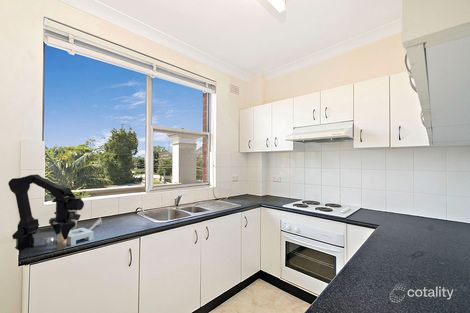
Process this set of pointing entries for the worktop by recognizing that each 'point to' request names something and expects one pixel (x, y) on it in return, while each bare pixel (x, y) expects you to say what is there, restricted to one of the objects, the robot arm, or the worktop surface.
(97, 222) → the caliper
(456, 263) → the worktop surface
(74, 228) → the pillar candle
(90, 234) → the bridge jig
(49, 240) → the aluminium pin
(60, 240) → the maple pin
